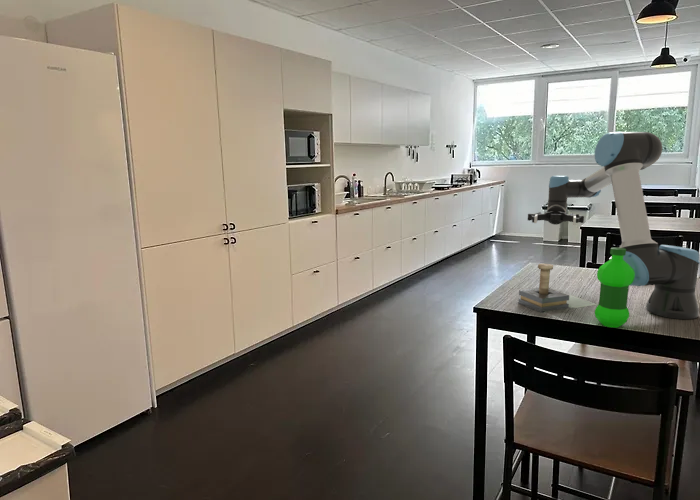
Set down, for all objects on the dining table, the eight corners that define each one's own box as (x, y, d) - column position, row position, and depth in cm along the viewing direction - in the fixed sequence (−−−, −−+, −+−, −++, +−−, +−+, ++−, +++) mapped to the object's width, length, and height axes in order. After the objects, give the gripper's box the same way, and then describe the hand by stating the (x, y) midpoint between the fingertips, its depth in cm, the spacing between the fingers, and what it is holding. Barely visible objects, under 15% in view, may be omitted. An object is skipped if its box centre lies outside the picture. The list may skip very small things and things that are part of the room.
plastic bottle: (617, 319, 161) (625, 245, 156) (635, 330, 150) (644, 251, 146) (587, 319, 161) (594, 245, 156) (602, 330, 151) (610, 251, 146)
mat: (598, 305, 176) (598, 304, 176) (572, 309, 172) (572, 308, 172) (569, 295, 189) (569, 294, 189) (544, 298, 185) (544, 297, 185)
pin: (553, 307, 174) (556, 265, 172) (541, 308, 173) (544, 267, 170) (543, 303, 179) (546, 263, 176) (532, 304, 177) (535, 264, 175)
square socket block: (568, 308, 172) (569, 295, 171) (541, 312, 168) (542, 298, 167) (544, 299, 183) (545, 286, 182) (518, 303, 179) (519, 290, 178)
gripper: (588, 225, 196) (590, 232, 177) (523, 222, 206) (519, 228, 187) (590, 206, 195) (592, 211, 176) (524, 204, 205) (520, 209, 186)
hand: (554, 220), depth 182 cm, fingers open, 13 cm apart
